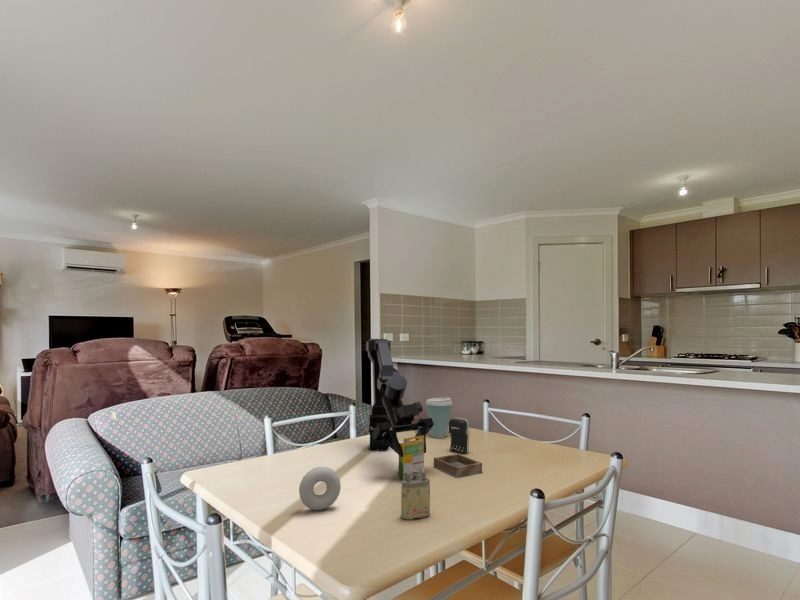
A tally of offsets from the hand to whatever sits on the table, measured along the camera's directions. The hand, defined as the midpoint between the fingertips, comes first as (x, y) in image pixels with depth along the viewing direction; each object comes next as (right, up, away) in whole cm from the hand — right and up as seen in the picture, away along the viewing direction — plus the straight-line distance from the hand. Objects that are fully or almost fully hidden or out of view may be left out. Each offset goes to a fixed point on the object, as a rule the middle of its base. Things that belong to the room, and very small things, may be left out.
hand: (414, 454), depth 132 cm
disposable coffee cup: (+11, -10, +51) cm, 54 cm away
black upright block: (+16, -9, +29) cm, 34 cm away
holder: (+14, -8, +9) cm, 18 cm away
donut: (-23, -6, -22) cm, 33 cm away
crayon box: (-1, -7, +1) cm, 7 cm away
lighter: (0, -6, -26) cm, 26 cm away
